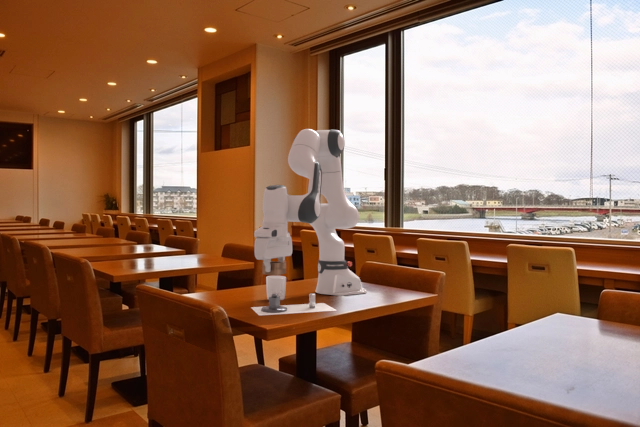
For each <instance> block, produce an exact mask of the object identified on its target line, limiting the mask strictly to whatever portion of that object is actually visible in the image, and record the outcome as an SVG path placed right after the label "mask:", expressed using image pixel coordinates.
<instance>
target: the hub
mask: <svg viewBox="0 0 640 427" xmlns="http://www.w3.org/2000/svg"><path fill="white" fill-rule="evenodd" d="M261 307H262V308H261V310H262V311H263V312H268V313H279V312H285V311H287V307H284V306H281V300H280V297H278V296H277V294H272V296H271V297H269V299H268V305H266V307H264V306H261Z"/></svg>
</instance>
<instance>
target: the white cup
mask: <svg viewBox="0 0 640 427" xmlns="http://www.w3.org/2000/svg"><path fill="white" fill-rule="evenodd" d="M265 285H266V286H265V288H266V299H267V300H268V301H269V297H271V296H272V294H277V296H278V297H280V301H283V300H285V298H286V297H285V296H286V287H287V286H286V285H287V277H286V276H285V275H267V276H266V277H265Z"/></svg>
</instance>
